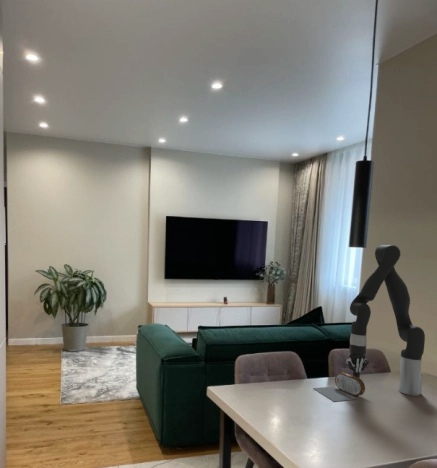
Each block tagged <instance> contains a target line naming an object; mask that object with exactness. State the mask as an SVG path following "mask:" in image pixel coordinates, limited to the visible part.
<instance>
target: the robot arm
mask: <svg viewBox="0 0 437 468" xmlns="http://www.w3.org/2000/svg"><path fill="white" fill-rule="evenodd" d="M374 256H375V260H376V263H377V265H378V266H377V268H376V269H375V270H374V271H373V272H372V273H371V274H370V275H369V276H368V278H367V279H366V280H365V282H364V284H363V286H362V288H361V289H360V292H359V293H358V294H357V295H356V296H355V298H354V299H353V300H352V301H351V303H350V306H349V312H350V314H351V315H353V316H355V317H356V319H355V320H354V321H352V322H351V327H350V328H351V329H350V337H349V357H348V359H345V360H344V362H345V364H346V365H347V367H348V369H349V370H350V371H352V375H353V376H356V377H358V378H360V379H361V372H363V371H364V370H365V369H366V368H367V366H368V364H369V363H370V361H369V360H368V359H367V358H366V354H367V341H368V340H367V333H368V332H367V329H368V328H367V327H368V324H369V321H370V318H371V312H372V311H371V307H370V306H369V304H368V303H369V302H372V301H374V300H375V298H376V296H377V294H378V292H379V290H380V289H381V288H380V287H381V286H382V284H383V282H384V283H385V286H386V291H387V294H388V297H389V301H390V303H391V307H392V310H393V313H394V316H395V322H396V327H397V332H398V335H399V338H400V339H401V340H402V341H403V342H405V343H406V347H405V349H402V350H401V351H400V364H399V365H400V369H399V370H400V371H399V389H398V390H399V391H398V392H400V393H403V394H404V395H408V396H412V397H415V396H416V397H417V396H420V395H422V391H423V390H422V387H423V374H422V358H423V355H424V351H425V345H426V344H425V341H426V334H425V331H424V330H423V329H422V328H421V327H419V326H417V325H414V324H413V322H412V319H411V318H410V313H409V310H410V305H411V297H410V296H411V295H410V293H409V290H408V287H407V284H406V283H405V282H404V281H403V279H402V278H401V276H400V275H399V274H398V272H397V271H396V269H395V266H396V264H397V263H398V261H399V260H400V258H401V250H400V248H399V247H398V246H397V245H394V244H381V245H378V246H377V247H376V249H375V250H374Z"/></svg>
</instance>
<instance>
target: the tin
mask: <svg viewBox="0 0 437 468" xmlns="http://www.w3.org/2000/svg"><path fill="white" fill-rule="evenodd" d="M334 382H335V385H336V388H337V389H339V390H340V391H342V392H344V393H346V394H347V393H348V395H349V394H350V395H352V396H356V397H358V396H362V395H364V393H365V391H366V386H365V383H364V381H363V379H361V377H360V378H358V377H356V376H353V374H350V373H347V372H345V371H342V372H338V373H337V374H336V375H335V379H334Z"/></svg>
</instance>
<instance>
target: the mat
mask: <svg viewBox="0 0 437 468" xmlns="http://www.w3.org/2000/svg"><path fill="white" fill-rule="evenodd" d="M312 389H313V390H314V389H315V391H316V392H317V393H319V394H321V395H322V396H324V397H325V398H327V399H329V400H331V401H332V402H333V403H336V402H349V401H350V402H351V401H356V400H357V399H356V398H355V397H352V396H351V395H349V394H347V392H345V391H342V390H340V389H339V388H338V387H335V386H323V387H322V386H321V387H313V388H312Z"/></svg>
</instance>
